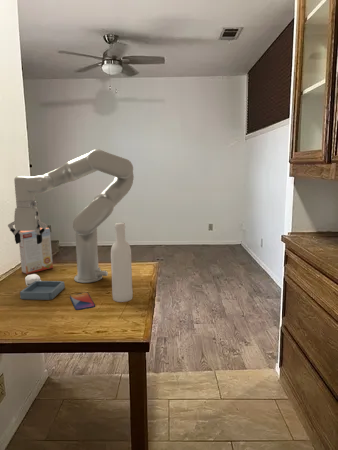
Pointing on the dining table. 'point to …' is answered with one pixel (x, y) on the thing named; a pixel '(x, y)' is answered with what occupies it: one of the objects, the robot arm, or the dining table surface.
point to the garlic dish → (42, 290)
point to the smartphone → (82, 301)
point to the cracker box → (35, 251)
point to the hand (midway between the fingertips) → (28, 243)
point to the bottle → (121, 266)
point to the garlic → (31, 279)
